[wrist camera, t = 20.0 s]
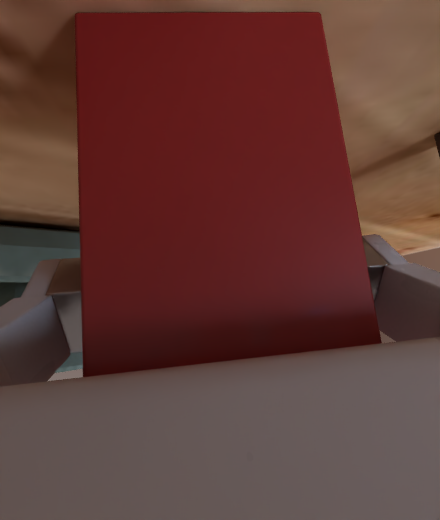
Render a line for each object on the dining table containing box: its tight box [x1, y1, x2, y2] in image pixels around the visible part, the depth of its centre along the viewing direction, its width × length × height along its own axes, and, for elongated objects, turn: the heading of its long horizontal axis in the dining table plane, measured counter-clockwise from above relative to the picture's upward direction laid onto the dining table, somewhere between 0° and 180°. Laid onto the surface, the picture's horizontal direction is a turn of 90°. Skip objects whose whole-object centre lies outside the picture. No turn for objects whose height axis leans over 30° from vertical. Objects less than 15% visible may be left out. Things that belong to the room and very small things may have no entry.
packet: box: [75, 12, 382, 377], centre depth 10 cm, size 4×6×10 cm, turn 85°
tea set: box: [0, 225, 83, 373], centre depth 35 cm, size 40×40×16 cm
